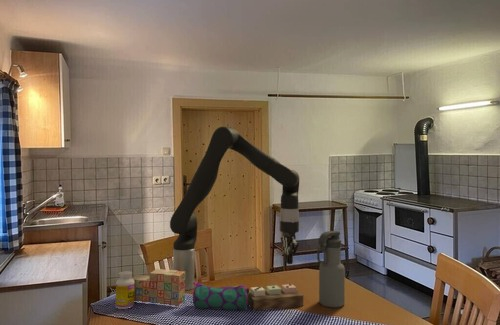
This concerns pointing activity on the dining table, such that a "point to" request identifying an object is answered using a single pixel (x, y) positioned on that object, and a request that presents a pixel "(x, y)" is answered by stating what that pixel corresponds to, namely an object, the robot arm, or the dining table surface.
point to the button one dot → (273, 290)
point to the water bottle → (331, 271)
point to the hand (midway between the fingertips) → (289, 263)
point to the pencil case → (221, 297)
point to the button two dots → (288, 288)
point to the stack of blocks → (160, 287)
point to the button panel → (275, 300)
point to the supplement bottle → (125, 290)
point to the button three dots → (257, 291)
